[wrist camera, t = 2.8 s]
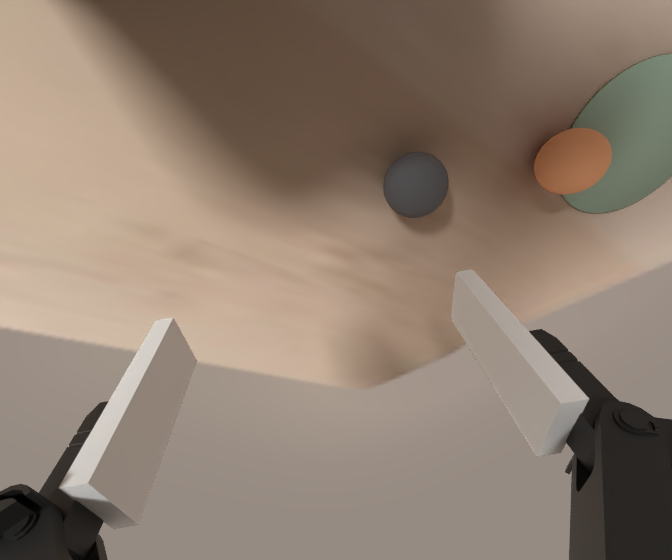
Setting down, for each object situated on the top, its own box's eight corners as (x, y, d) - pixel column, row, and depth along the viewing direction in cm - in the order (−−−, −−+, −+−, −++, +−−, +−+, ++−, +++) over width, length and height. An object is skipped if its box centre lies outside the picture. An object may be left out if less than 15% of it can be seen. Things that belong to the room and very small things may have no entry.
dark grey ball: (379, 208, 31) (392, 232, 27) (376, 151, 28) (391, 165, 24) (433, 200, 31) (456, 222, 27) (436, 142, 28) (462, 155, 24)
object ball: (516, 188, 32) (552, 207, 27) (528, 128, 28) (572, 138, 24) (569, 179, 32) (615, 197, 27) (587, 119, 29) (642, 128, 24)
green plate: (542, 221, 34) (543, 222, 34) (583, 66, 26) (585, 66, 26) (667, 202, 34) (669, 202, 34) (745, 42, 26) (748, 42, 26)
